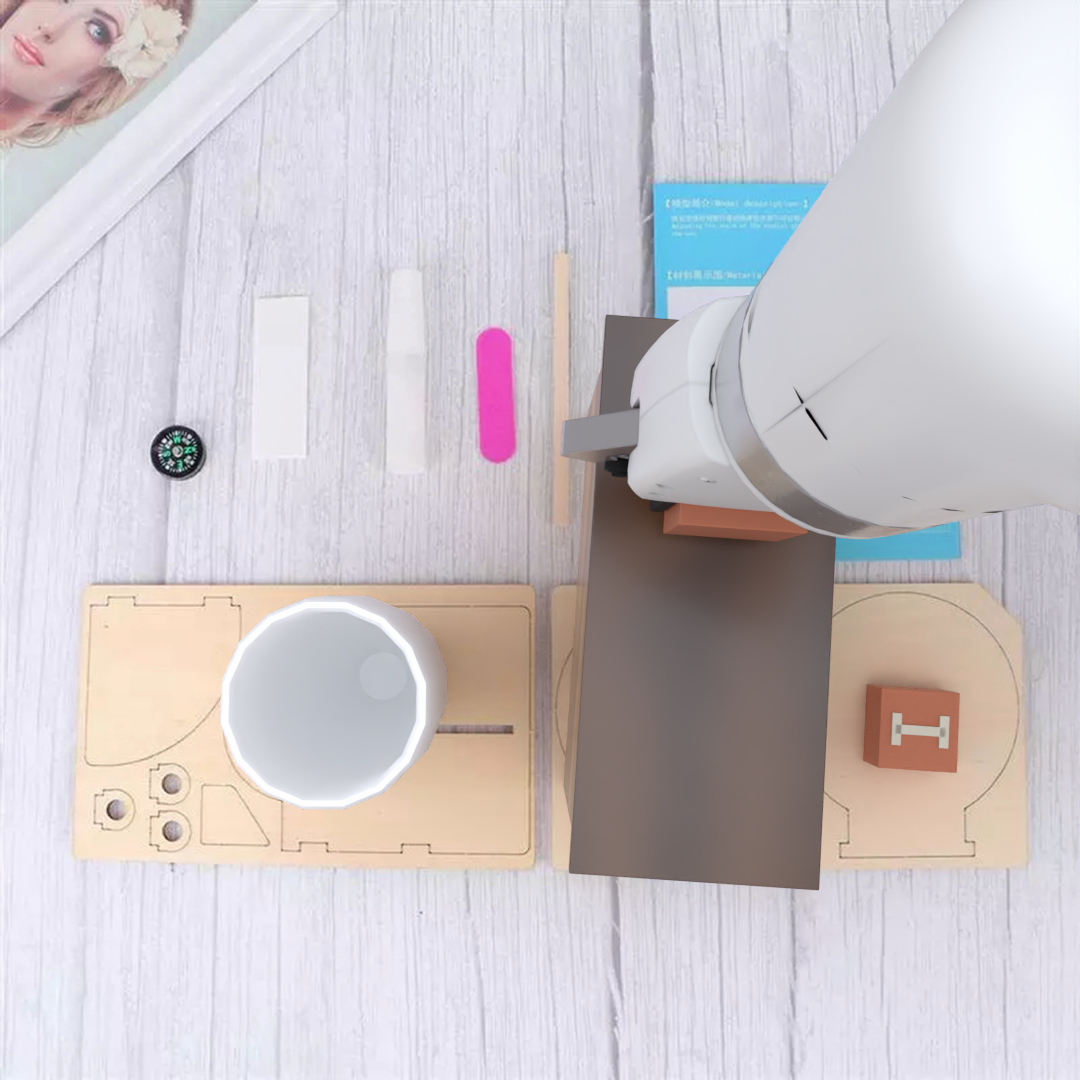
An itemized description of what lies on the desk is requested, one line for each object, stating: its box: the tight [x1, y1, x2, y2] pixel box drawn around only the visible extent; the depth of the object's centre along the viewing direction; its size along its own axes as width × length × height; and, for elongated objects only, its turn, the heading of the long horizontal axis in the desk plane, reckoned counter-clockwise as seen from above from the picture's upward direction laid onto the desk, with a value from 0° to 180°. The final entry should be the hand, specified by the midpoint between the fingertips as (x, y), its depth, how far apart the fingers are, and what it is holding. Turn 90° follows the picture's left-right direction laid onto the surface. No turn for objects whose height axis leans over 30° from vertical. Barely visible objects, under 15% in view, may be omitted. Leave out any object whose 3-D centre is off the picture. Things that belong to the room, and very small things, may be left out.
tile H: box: [663, 503, 808, 542], centre depth 40 cm, size 5×5×5 cm
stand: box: [562, 366, 602, 825], centre depth 55 cm, size 10×25×22 cm, turn 176°
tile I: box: [862, 684, 961, 774], centre depth 63 cm, size 5×5×5 cm
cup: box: [219, 594, 448, 810], centre depth 54 cm, size 10×10×22 cm
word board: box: [568, 314, 837, 891], centre depth 43 cm, size 11×25×1 cm, turn 176°
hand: (725, 479), depth 42 cm, fingers closed on tile H, 5 cm apart
